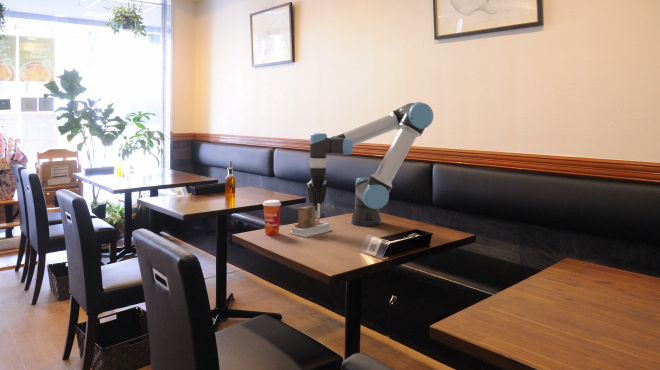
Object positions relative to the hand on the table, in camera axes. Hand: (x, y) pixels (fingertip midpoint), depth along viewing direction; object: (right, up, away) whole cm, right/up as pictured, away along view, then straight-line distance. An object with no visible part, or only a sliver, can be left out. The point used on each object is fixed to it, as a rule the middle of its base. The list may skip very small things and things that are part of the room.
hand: (316, 217), depth 226 cm
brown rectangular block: (-4, -6, -4) cm, 8 cm away
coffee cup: (-20, -7, -7) cm, 22 cm away
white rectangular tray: (-2, -7, -2) cm, 7 cm away
